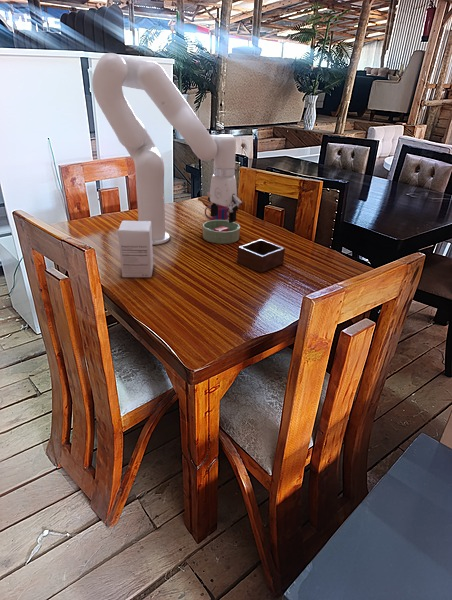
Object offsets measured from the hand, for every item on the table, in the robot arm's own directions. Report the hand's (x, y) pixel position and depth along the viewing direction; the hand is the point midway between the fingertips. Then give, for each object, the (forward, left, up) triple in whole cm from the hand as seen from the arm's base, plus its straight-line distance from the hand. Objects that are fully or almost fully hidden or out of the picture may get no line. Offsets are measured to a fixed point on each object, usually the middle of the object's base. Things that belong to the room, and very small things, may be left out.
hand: (223, 218), depth 151 cm
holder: (-7, -26, -7) cm, 28 cm away
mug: (+11, +14, -7) cm, 19 cm away
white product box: (-42, -6, -7) cm, 43 cm away
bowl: (0, 0, -7) cm, 7 cm away
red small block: (0, 0, -7) cm, 7 cm away
